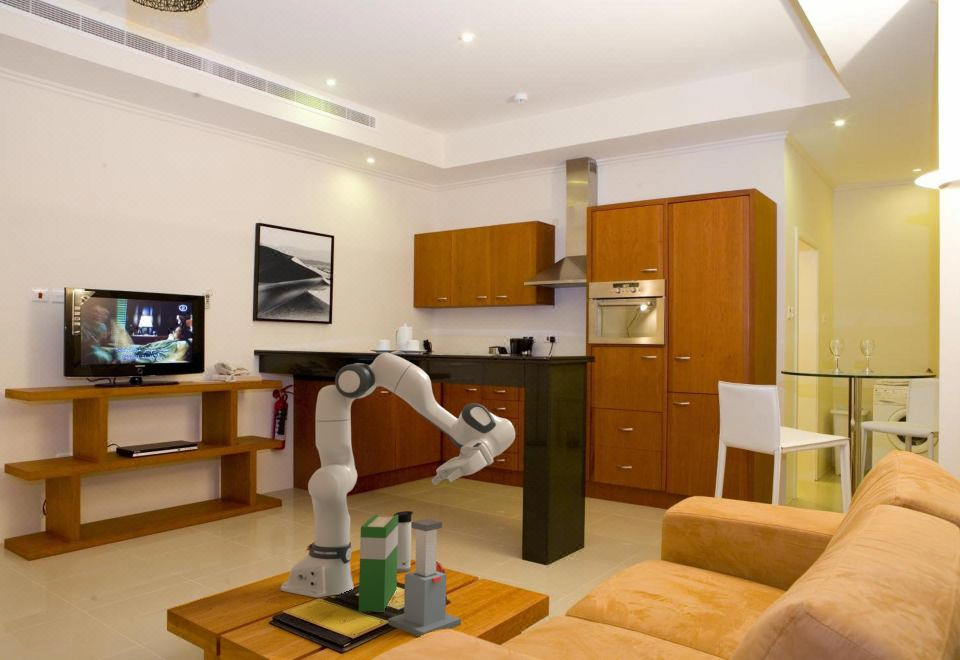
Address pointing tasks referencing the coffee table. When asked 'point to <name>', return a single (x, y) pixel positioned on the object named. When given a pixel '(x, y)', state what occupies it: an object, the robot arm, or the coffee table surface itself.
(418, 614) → the stand sleeve
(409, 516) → the travel mug
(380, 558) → the hardback book
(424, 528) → the steel column
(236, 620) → the coffee table surface
